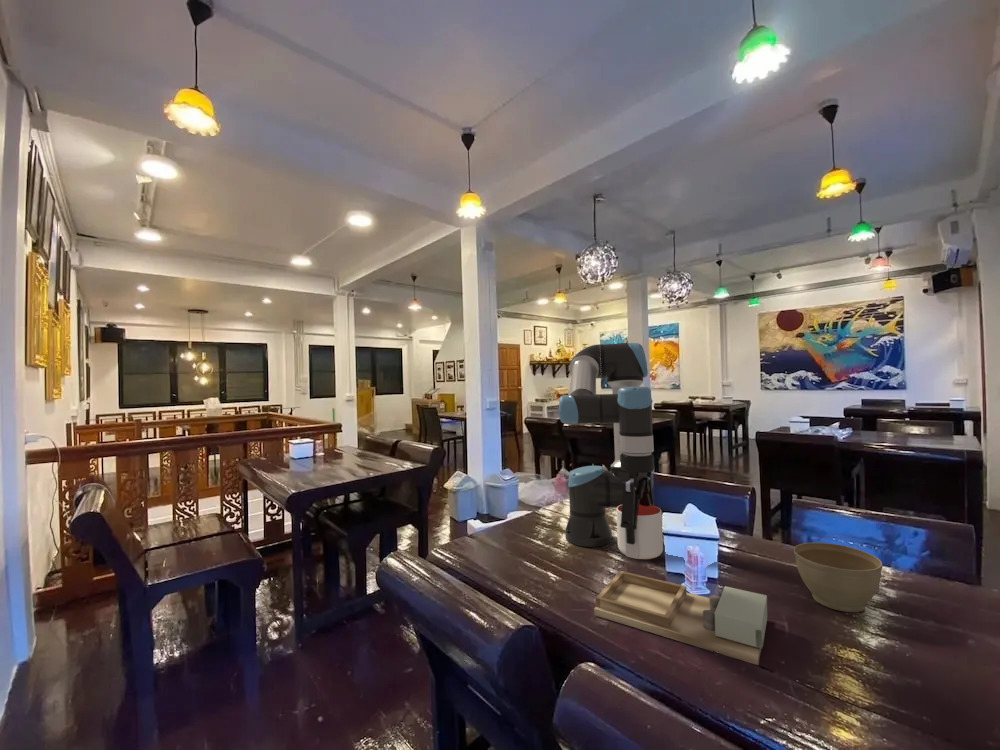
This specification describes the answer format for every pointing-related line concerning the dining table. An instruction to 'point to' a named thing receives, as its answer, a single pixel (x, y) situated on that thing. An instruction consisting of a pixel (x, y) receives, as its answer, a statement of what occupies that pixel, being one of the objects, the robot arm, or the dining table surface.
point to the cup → (644, 531)
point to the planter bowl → (838, 574)
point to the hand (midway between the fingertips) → (640, 548)
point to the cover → (741, 616)
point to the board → (668, 613)
